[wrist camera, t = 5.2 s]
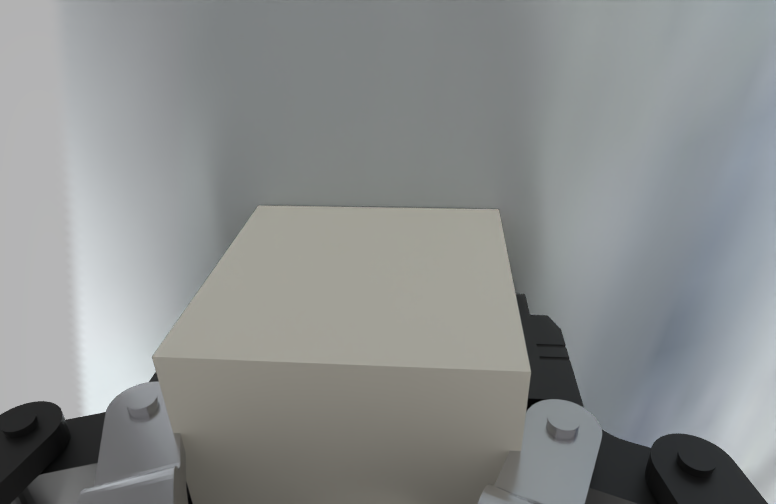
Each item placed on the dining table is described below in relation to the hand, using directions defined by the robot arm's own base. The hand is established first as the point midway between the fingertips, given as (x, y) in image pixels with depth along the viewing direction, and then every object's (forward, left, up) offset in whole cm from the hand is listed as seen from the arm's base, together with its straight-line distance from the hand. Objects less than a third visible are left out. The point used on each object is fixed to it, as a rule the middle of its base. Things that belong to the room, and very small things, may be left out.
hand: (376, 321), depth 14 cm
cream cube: (0, 0, -1) cm, 1 cm away
